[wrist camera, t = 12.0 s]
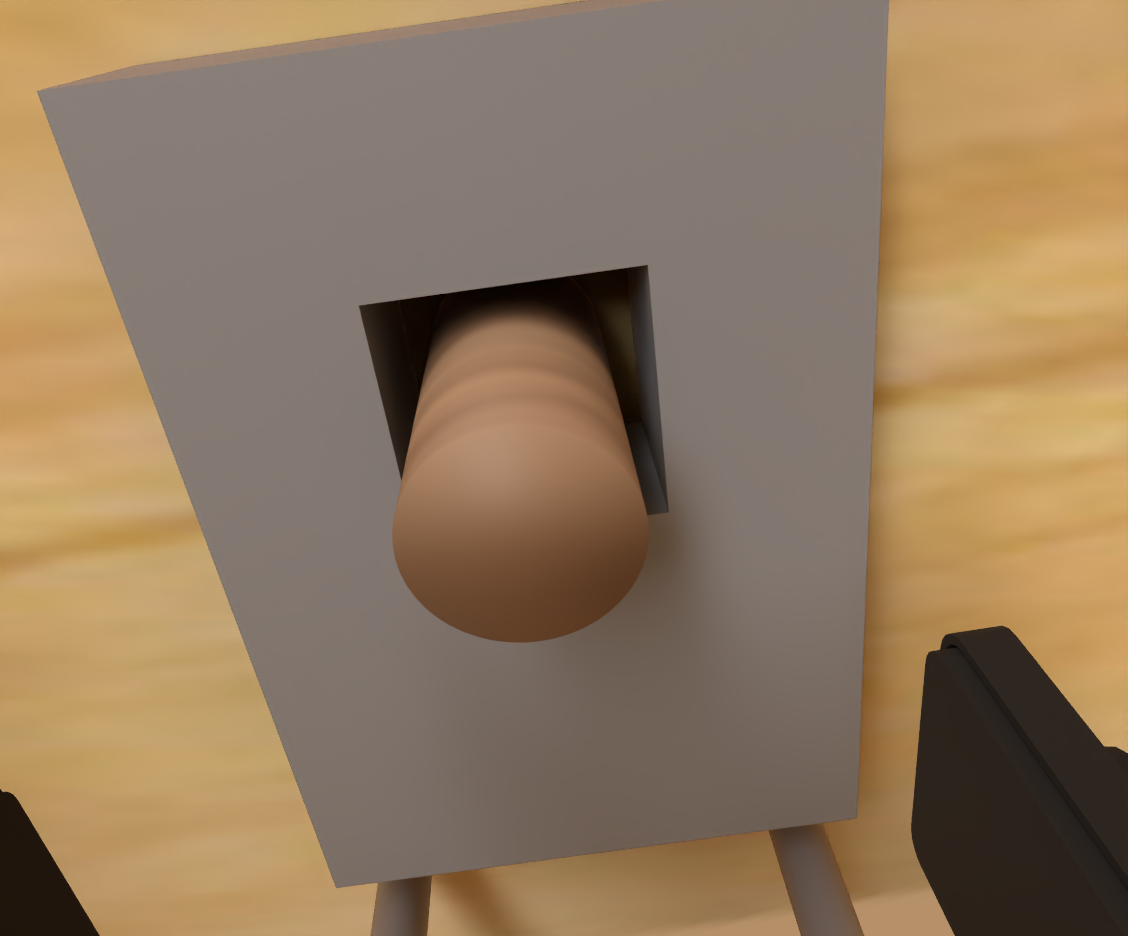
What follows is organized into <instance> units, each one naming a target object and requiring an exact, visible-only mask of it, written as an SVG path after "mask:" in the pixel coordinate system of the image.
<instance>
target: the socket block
mask: <svg viewBox="0 0 1128 936" xmlns="http://www.w3.org/2000/svg"><path fill="white" fill-rule="evenodd" d="M888 10H889V0H587V1H580V2H573V3H566V4H559V5H552V6H545V7H538V8H531V9H524V10H517V11H510V12H503V13H497V14H490V15H483V16H476V17H469V18H462V19H455V20H448V21H441V22H434V23H427V24H420V25H413V26H406V27H399V28H393V29H386V30H379V31H372V32H365V33H358V34H351V35H344V36H337V37H330V38H323V39H316V40H309V41H302V42H296V43H289V44H282V45H275V46H268V47H261V48H254V49H247V50H240V51H233V52H226V53H219V54H212V55H205V56H198V57H192V58H185V59H178V60H171V61H164V62H157V63H150V64H143V65H136V66H132V67H128V68H124V69H120V70H116V71H112V72H108V73H104V74H101V75H97V76H93V77H89V78H85V79H81V80H77V81H74V82H70V83H66V84H62V85H58V86H54V87H50V88H46V89H43V90H39V91H37V93H38V95H39V98H40V101H41V103H42V106H43V109H44V111H45V114H46V117H47V119H48V122H49V125H50V127H51V130H52V133H53V135H54V138H55V141H56V143H57V146H58V149H59V151H60V154H61V157H62V159H63V162H64V165H65V167H66V170H67V172H68V175H69V178H70V180H71V183H72V186H73V188H74V191H75V194H76V196H77V199H78V202H79V204H80V207H81V210H82V212H83V215H84V218H85V220H86V223H87V226H88V228H89V231H90V234H91V236H92V239H93V242H94V244H95V247H96V250H97V252H98V255H99V258H100V260H101V263H102V266H103V268H104V271H105V274H106V276H107V279H108V282H109V284H110V287H111V290H112V292H113V295H114V298H115V300H116V303H117V306H118V308H119V311H120V314H121V316H122V319H123V322H124V324H125V327H126V330H127V332H128V335H129V338H130V340H131V343H132V345H133V348H134V351H135V353H136V356H137V359H138V361H139V364H140V367H141V369H142V372H143V375H144V377H145V380H146V383H147V385H148V388H149V391H150V393H151V396H152V399H153V401H154V404H155V407H156V409H157V412H158V415H159V417H160V420H161V423H162V425H163V428H164V431H165V433H166V436H167V439H168V441H169V444H170V447H171V449H172V452H173V455H174V457H175V460H176V463H177V465H178V468H179V471H180V473H181V476H182V479H183V481H184V484H185V487H186V489H187V492H188V495H189V497H190V500H191V503H192V505H193V508H194V510H195V513H196V516H197V518H198V521H199V524H200V526H201V529H202V532H203V534H204V537H205V540H206V542H207V545H208V548H209V550H210V553H211V556H212V558H213V561H214V564H215V566H216V569H217V572H218V574H219V577H220V580H221V582H222V585H223V588H224V590H225V593H226V596H227V598H228V601H229V604H230V606H231V609H232V612H233V614H234V617H235V620H236V622H237V625H238V628H239V630H240V633H241V636H242V638H243V641H244V644H245V646H246V649H247V652H248V654H249V657H250V660H251V662H252V665H253V668H254V670H255V673H256V676H257V678H258V681H259V683H260V686H261V689H262V691H263V694H264V697H265V699H266V702H267V705H268V707H269V710H270V713H271V715H272V718H273V721H274V723H275V726H276V729H277V731H278V734H279V737H280V739H281V742H282V745H283V747H284V750H285V753H286V755H287V758H288V761H289V763H290V766H291V769H292V771H293V774H294V777H295V779H296V782H297V785H298V787H299V790H300V793H301V795H302V798H303V801H304V803H305V806H306V809H307V811H308V814H309V817H310V819H311V822H312V825H313V827H314V830H315V833H316V835H317V838H318V841H319V843H320V846H321V849H322V851H323V854H324V856H325V859H326V862H327V864H328V867H329V870H330V872H331V875H332V878H333V880H334V883H335V886H336V888H340V887H348V886H355V885H363V884H370V883H378V882H385V881H393V880H400V879H408V878H415V877H423V876H430V875H437V874H445V873H452V872H460V871H467V870H475V869H482V868H490V867H497V866H505V865H512V864H520V863H527V862H535V861H542V860H550V859H557V858H565V857H572V856H580V855H587V854H594V853H602V852H609V851H617V850H624V849H632V848H639V847H647V846H654V845H662V844H669V843H677V842H684V841H692V840H699V839H707V838H714V837H722V836H729V835H737V834H744V833H751V832H759V831H766V830H774V829H781V828H789V827H796V826H804V825H811V824H819V823H826V822H834V821H841V820H849V819H856V818H857V806H858V781H859V755H860V729H861V704H862V678H863V652H864V627H865V601H866V575H867V550H868V524H869V498H870V472H871V447H872V421H873V395H874V370H875V344H876V318H877V293H878V267H879V241H880V216H881V190H882V164H883V139H884V113H885V87H886V62H887V36H888ZM622 268H627V277H628V287H629V298H630V308H631V319H632V329H633V339H634V350H635V360H636V371H637V381H638V392H639V402H640V413H641V421H639V422H632V423H625V424H624V425H625V429H626V433H627V437H628V441H629V445H630V449H631V453H632V457H633V461H634V465H635V469H636V472H637V476H638V480H639V484H640V488H641V492H642V496H643V500H644V504H645V508H646V512H647V518H648V524H649V541H648V549H647V554H646V558H645V561H644V564H643V567H642V569H641V571H640V574H639V576H638V578H637V580H636V581H635V583H634V585H633V586H632V588H631V589H630V591H629V592H628V593H627V594H626V596H625V597H624V598H623V599H622V600H621V601H620V602H619V603H618V604H617V605H616V606H615V607H614V608H613V609H612V610H611V611H610V612H608V613H607V614H606V615H604V616H603V617H602V618H600V619H599V620H597V621H596V622H594V623H592V624H590V625H588V626H587V627H585V628H583V629H581V630H578V631H576V632H573V633H571V634H568V635H565V636H562V637H558V638H555V639H550V640H544V641H538V642H526V643H514V642H501V641H493V640H488V639H484V638H480V637H476V636H473V635H471V634H468V633H465V632H462V631H460V630H458V629H456V628H454V627H452V626H450V625H448V624H446V623H445V622H443V621H442V620H440V619H439V618H437V617H436V616H434V615H433V614H432V613H431V612H430V611H428V610H427V609H426V608H425V607H424V606H423V605H422V604H421V603H420V602H419V601H418V600H417V599H416V598H415V597H414V595H413V594H412V592H411V591H410V590H409V588H408V587H407V585H406V584H405V582H404V580H403V578H402V576H401V574H400V572H399V569H398V566H397V563H396V560H395V556H394V550H393V543H392V528H393V521H394V515H395V510H396V505H397V500H398V496H399V491H400V486H401V481H402V477H403V472H404V467H405V462H406V458H407V453H408V448H409V443H410V439H411V434H412V429H413V424H414V419H415V415H416V410H417V405H418V400H419V396H420V393H419V388H418V384H417V379H416V374H415V370H414V365H413V361H412V356H411V352H410V347H409V343H408V338H407V334H406V329H405V325H404V320H403V316H402V311H401V307H400V302H399V300H402V299H409V298H416V297H423V296H430V295H437V294H444V293H451V292H458V291H466V290H473V289H480V288H487V287H494V286H501V285H508V284H515V283H522V282H529V281H536V280H544V279H551V278H558V277H565V276H572V275H579V274H586V273H593V272H600V271H607V270H615V269H622Z"/></svg>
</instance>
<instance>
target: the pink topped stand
mask: <svg viewBox="0 0 1128 936" xmlns="http://www.w3.org/2000/svg"><path fill="white" fill-rule="evenodd" d="M769 833H770V836H771V839H772V842H773V846H774V849H775V852H776V855H777V859H778V862H779V865H780V869H781V872H782V875H783V878H784V882H785V885H786V888H787V891H788V895H789V898H790V901H791V904H792V908H793V911H794V914H795V918H796V921H797V924H798V927H799V931H800V934H801V936H864V934H863V932H862V929H861V926H860V923H859V921H858V918H857V915H856V913H855V910H854V907H853V905H852V902H851V899H850V897H849V894H848V891H847V888H846V886H845V883H844V880H843V878H842V875H841V872H840V870H839V867H838V864H837V862H836V859H835V856H834V853H833V851H832V848H831V845H830V843H829V840H828V837H827V835H826V832H825V829H824V826H823V824H822V823H819V824H811V825H804V826H796V827H789V828H781V829H774V830H769ZM431 881H432V875H430V876H423V877H415V878H408V879H400V880H393V881H385V882H378V887H377V894H376V901H375V909H374V916H373V923H372V930H371V936H427V931H428V918H429V906H430V894H431Z"/></svg>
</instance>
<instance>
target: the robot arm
mask: <svg viewBox="0 0 1128 936" xmlns="http://www.w3.org/2000/svg"><path fill="white" fill-rule="evenodd" d="M911 832H912V840H913V844H914V848H915V852H916V855H917V858H918V860H919V863H920V865H921V867H922V869H923V871H924V873H925V875H926V877H927V879H928V882H929V884H930V886H931V888H932V890H933V892H934V894H935V896H936V898H937V900H938V902H939V904H940V906H941V908H942V910H943V912H944V914H945V916H946V918H947V921H948V923H949V925H950V927H951V929H952V931H953V933H954V935H955V936H1128V753H1126V752H1124V751H1122V750H1120V749H1119V748H1117V747H1104V746H1103V745H1102V743H1101V742H1100V741H1099V740H1098V738H1097V737H1096V736H1095V735H1094V733H1093V732H1092V731H1091V729H1090V728H1089V727H1088V726H1087V724H1086V723H1085V722H1084V721H1083V719H1082V718H1081V717H1080V716H1079V714H1078V713H1077V712H1076V711H1075V709H1074V708H1073V707H1072V706H1071V704H1070V703H1069V702H1068V701H1067V699H1066V698H1065V697H1064V695H1063V694H1062V693H1061V692H1060V690H1059V689H1058V688H1057V687H1056V685H1055V684H1054V683H1053V682H1052V680H1051V679H1050V678H1049V677H1048V675H1047V674H1046V673H1045V672H1044V670H1043V669H1042V668H1041V667H1040V665H1039V664H1038V663H1037V661H1036V660H1035V659H1034V658H1033V656H1032V655H1031V654H1030V653H1029V651H1028V650H1027V649H1026V648H1025V646H1024V645H1023V644H1022V643H1021V641H1020V640H1019V639H1018V638H1017V636H1016V635H1015V634H1014V633H1013V632H1012V631H1011V630H1010V629H1009V628H1006V627H1004V626H997V627H991V628H984V629H978V630H971V631H964V632H958V633H951V634H947V635H945V637H944V638H943V640H942V643H941V648H940V650H936V651H931V652H929V653H928V655H927V657H926V663H925V674H924V686H923V697H922V708H921V720H920V731H919V743H918V754H917V766H916V777H915V789H914V800H913V811H912V823H911ZM0 936H99V934H98V932H97V931H96V929H95V927H94V926H93V924H92V922H91V921H90V919H89V917H88V916H87V914H86V912H85V911H84V909H83V907H82V906H81V904H80V902H79V901H78V899H77V897H76V896H75V894H74V892H73V891H72V889H71V887H70V886H69V884H68V883H67V881H66V879H65V878H64V876H63V874H62V873H61V871H60V869H59V868H58V866H57V864H56V863H55V861H54V859H53V858H52V856H51V854H50V853H49V851H48V849H47V848H46V846H45V844H44V843H43V841H42V839H41V838H40V836H39V834H38V833H37V831H36V829H35V828H34V826H33V824H32V823H31V821H30V819H29V818H28V816H27V814H26V813H25V811H24V810H23V808H22V806H21V805H20V803H19V801H18V800H17V798H16V797H15V796H14V795H13V794H11V793H9V792H2V791H1V789H0Z"/></svg>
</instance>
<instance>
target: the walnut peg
mask: <svg viewBox="0 0 1128 936" xmlns="http://www.w3.org/2000/svg"><path fill="white" fill-rule="evenodd" d="M648 541H649V524H648V518H647V512H646V508H645V504H644V500H643V496H642V492H641V488H640V484H639V480H638V476H637V472H636V469H635V465H634V461H633V457H632V453H631V449H630V445H629V441H628V437H627V433H626V429H625V425H624V421H623V418H622V414H621V410H620V406H619V402H618V398H617V394H616V390H615V386H614V382H613V378H612V374H611V371H610V367H609V363H608V359H607V355H606V351H605V347H604V343H603V339H602V335H601V331H600V327H599V324H598V320H597V316H596V313H595V310H594V307H593V305H592V303H591V301H590V299H589V297H588V296H587V295H586V293H585V292H584V290H583V289H582V288H581V287H580V285H579V284H578V283H577V282H576V281H575V280H574V279H572V278H571V277H570V276H565V277H558V278H551V279H544V280H536V281H529V282H522V283H515V284H508V285H501V286H494V287H487V288H480V289H473V290H466V291H458V292H451V293H447V294H446V296H445V297H444V299H443V301H442V303H441V305H440V307H439V309H438V313H437V316H436V320H435V324H434V329H433V334H432V339H431V343H430V348H429V353H428V358H427V362H426V367H425V372H424V377H423V381H422V386H421V391H420V396H419V400H418V405H417V410H416V415H415V419H414V424H413V429H412V434H411V439H410V443H409V448H408V453H407V458H406V462H405V467H404V472H403V477H402V481H401V486H400V491H399V496H398V500H397V505H396V510H395V515H394V521H393V528H392V543H393V550H394V556H395V560H396V563H397V566H398V569H399V572H400V574H401V576H402V578H403V580H404V582H405V584H406V585H407V587H408V588H409V590H410V591H411V592H412V594H413V595H414V597H415V598H416V599H417V600H418V601H419V602H420V603H421V604H422V605H423V606H424V607H425V608H426V609H427V610H428V611H430V612H431V613H432V614H433V615H434V616H436V617H437V618H439V619H440V620H442V621H443V622H445V623H446V624H448V625H450V626H452V627H454V628H456V629H458V630H460V631H462V632H465V633H468V634H471V635H473V636H476V637H480V638H484V639H488V640H493V641H501V642H514V643H526V642H538V641H544V640H550V639H555V638H558V637H562V636H565V635H568V634H571V633H573V632H576V631H578V630H581V629H583V628H585V627H587V626H588V625H590V624H592V623H594V622H596V621H597V620H599V619H600V618H602V617H603V616H604V615H606V614H607V613H608V612H610V611H611V610H612V609H613V608H614V607H615V606H616V605H617V604H618V603H619V602H620V601H621V600H622V599H623V598H624V597H625V596H626V594H627V593H628V592H629V591H630V589H631V588H632V586H633V585H634V583H635V581H636V580H637V578H638V576H639V574H640V571H641V569H642V567H643V564H644V561H645V558H646V554H647V549H648Z"/></svg>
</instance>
